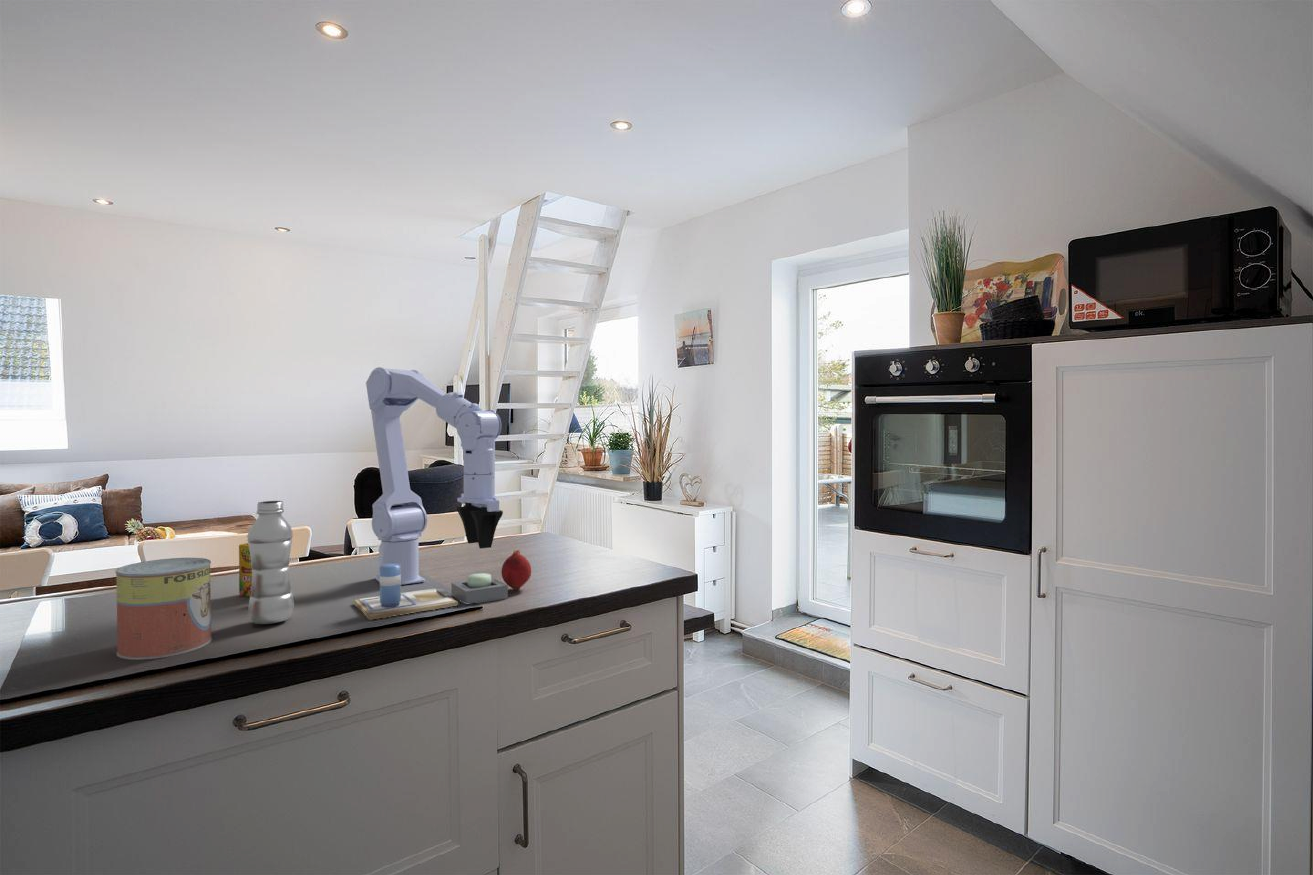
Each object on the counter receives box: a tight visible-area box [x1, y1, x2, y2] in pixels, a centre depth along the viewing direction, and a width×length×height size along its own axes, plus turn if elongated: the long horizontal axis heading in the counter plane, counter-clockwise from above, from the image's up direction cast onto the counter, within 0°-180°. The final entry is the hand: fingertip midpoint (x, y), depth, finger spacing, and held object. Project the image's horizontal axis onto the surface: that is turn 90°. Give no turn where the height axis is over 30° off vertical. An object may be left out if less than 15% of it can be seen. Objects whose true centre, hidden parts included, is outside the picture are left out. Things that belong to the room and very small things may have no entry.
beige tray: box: [353, 587, 459, 621], centre depth 120 cm, size 12×15×1 cm
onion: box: [500, 549, 532, 591], centre depth 132 cm, size 6×6×8 cm
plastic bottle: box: [246, 500, 295, 625], centre depth 109 cm, size 6×7×20 cm
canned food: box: [115, 557, 213, 661], centre depth 98 cm, size 11×11×12 cm
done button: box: [466, 572, 492, 589], centre depth 126 cm, size 4×4×2 cm
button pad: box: [450, 576, 509, 604], centre depth 126 cm, size 8×8×2 cm
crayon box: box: [238, 542, 252, 598], centre depth 126 cm, size 7×3×12 cm, turn 68°
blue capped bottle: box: [379, 564, 402, 608], centre depth 117 cm, size 3×3×7 cm
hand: (479, 545), depth 126 cm, fingers open, 5 cm apart
